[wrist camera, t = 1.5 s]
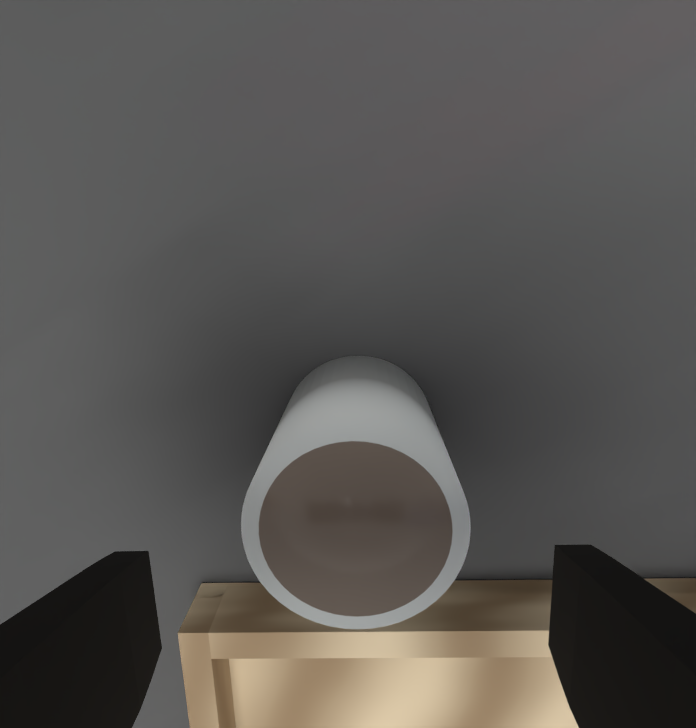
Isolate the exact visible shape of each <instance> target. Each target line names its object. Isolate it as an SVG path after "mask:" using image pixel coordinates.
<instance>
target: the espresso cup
mask: <svg viewBox="0 0 696 728" xmlns="http://www.w3.org/2000/svg"><path fill="white" fill-rule="evenodd" d="M470 532H471V526H470V514H469V509H468V504H467V500H466V498H465V495H464V492H463V489H462V487H461V484H460V482H459V479H458V477H457V474H456V472H455V469H454V467H453V464H452V462H451V459H450V457H449V454H448V452H447V449H446V447H445V444H444V442H443V439H442V437H441V434H440V432H439V429H438V427H437V424H436V422H435V419H434V417H433V414H432V412H431V409H430V407H429V404H428V402H427V399H426V397H425V395H424V393H423V392H422V390H421V388H420V387H419V386H418V384H417V383H416V382H415V381H414V380H413V378H412V377H411V376H410V375H408V374H407V373H406V372H405V371H404V370H402V369H401V368H399V367H398V366H396V365H394V364H392V363H390V362H388V361H385V360H382V359H379V358H376V357H370V356H357V355H356V356H346V357H341V358H337V359H334V360H331V361H328V362H326V363H324V364H322V365H320V366H318V367H317V368H316V369H314V370H313V371H311V372H310V373H309V374H308V375H307V376H306V377H305V378H304V379H303V380H302V381H301V382H300V384H299V385H298V386H297V388H296V389H295V391H294V393H293V394H292V397H291V399H290V401H289V403H288V405H287V407H286V409H285V411H284V414H283V416H282V418H281V420H280V422H279V424H278V426H277V428H276V431H275V433H274V435H273V437H272V439H271V441H270V443H269V446H268V448H267V450H266V452H265V454H264V456H263V458H262V460H261V463H260V465H259V467H258V469H257V471H256V473H255V475H254V478H253V480H252V482H251V484H250V486H249V489H248V491H247V493H246V497H245V500H244V504H243V509H242V517H241V534H242V540H243V546H244V549H245V553H246V556H247V559H248V561H249V563H250V565H251V568H252V570H253V572H254V573H255V575H256V576H257V578H258V579H259V581H260V582H261V584H262V585H263V586H264V587H265V588H266V590H267V591H268V592H269V593H270V594H271V595H272V596H273V597H274V598H275V599H276V600H278V601H279V602H280V603H281V604H283V605H284V606H285V607H287V608H288V609H290V610H291V611H293V612H295V613H296V614H298V615H300V616H302V617H304V618H306V619H309V620H311V621H314V622H316V623H320V624H323V625H327V626H330V627H337V628H343V629H373V628H378V627H384V626H388V625H392V624H395V623H398V622H401V621H404V620H406V619H408V618H411V617H413V616H415V615H416V614H418V613H420V612H422V611H423V610H425V609H426V608H428V607H429V606H430V605H432V604H433V603H434V602H436V601H437V600H438V599H439V598H440V597H441V596H442V595H443V594H444V593H445V592H446V591H447V589H448V588H449V587H450V586H451V584H452V583H453V582H454V580H455V579H456V577H457V575H458V573H459V572H460V570H461V568H462V565H463V563H464V561H465V558H466V555H467V551H468V547H469V542H470Z"/></svg>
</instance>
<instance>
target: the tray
mask: <svg viewBox="0 0 696 728" xmlns="http://www.w3.org/2000/svg"><path fill="white" fill-rule="evenodd" d="M645 580H646V581H648V582H649V583H651V584H652V585H654V586H655V587H657V588H658V589H660V590H661V591H663V592H664V593H666V594H667V595H669V596H670V597H672V598H673V599H675V600H676V601H678V602H679V603H681V604H682V605H684V606H685V607H687V608H688V609H690V610H691V611H693V612H694V613H696V578H652V579H645ZM552 581H553V580H460V581H454V582H453V583H452V584H451V586H450V587H449V588H448V589H447V591H446V592H445V593H444V594H443V595H442V596H441V597H440V598H439V599H438V600H437V601H436V602H434V603H433V604H432V605H430V606H429V607H428V608H426V609H425V610H423V611H422V612H420V613H418V614H416V615H415V616H413V617H411V618H408V619H406V620H404V621H401V622H398V623H395V624H392V625H388V626H384V627H378V628H373V629H343V628H337V627H330V626H327V625H323V624H320V623H316V622H314V621H311V620H309V619H306V618H304V617H302V616H300V615H298V614H296V613H295V612H293V611H291V610H290V609H288V608H287V607H285V606H284V605H283V604H281V603H280V602H279V601H278V600H276V599H275V598H274V597H273V596H272V595H271V594H270V593H269V592H268V591H267V590H266V588H265V587H264V586H263V585H262V584H261V583H201V585H200V587H199V590H198V592H197V594H196V596H195V598H194V600H193V602H192V604H191V606H190V609H189V611H188V613H187V615H186V617H185V619H184V621H183V623H182V625H181V627H180V630H179V632H178V638H179V646H180V654H181V662H182V669H183V677H184V685H185V693H186V700H187V708H188V716H189V724H190V728H579V727H578V725H577V723H576V720H575V718H574V716H573V714H572V712H571V709H570V707H569V704H568V702H567V699H566V696H565V693H564V690H563V688H562V685H561V682H560V679H559V676H558V673H557V670H556V667H555V664H554V661H553V658H552V655H551V652H550V649H549V646H548V640H549V625H550V610H551V595H552Z"/></svg>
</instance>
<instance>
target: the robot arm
mask: <svg viewBox="0 0 696 728" xmlns="http://www.w3.org/2000/svg"><path fill="white" fill-rule="evenodd" d="M548 646H549V649H550V652H551V655H552V658H553V661H554V664H555V667H556V670H557V673H558V676H559V679H560V682H561V685H562V688H563V690H564V693H565V696H566V699H567V702H568V704H569V707H570V709H571V712H572V714H573V716H574V718H575V720H576V723H577V725H578V727H579V728H696V613H694V612H693V611H691V610H690V609H688V608H687V607H685V606H684V605H682V604H681V603H679V602H678V601H676V600H675V599H673V598H672V597H670V596H669V595H667V594H666V593H664V592H663V591H661V590H660V589H658V588H657V587H655V586H654V585H652V584H651V583H649V582H648V581H646V580H645V579H643V578H642V577H640V576H639V575H637V574H636V573H634V572H633V571H631V570H630V569H628V568H627V567H625V566H624V565H622V564H621V563H619V562H618V561H616V560H615V559H613V558H612V557H610V556H608V555H607V554H605V553H604V552H602V551H600V550H599V549H597V548H595V547H594V546H592V545H555V551H554V566H553V581H552V595H551V610H550V625H549V640H548ZM161 649H162V646H161V639H160V631H159V624H158V617H157V610H156V603H155V595H154V588H153V581H152V574H151V567H150V559H149V552H148V551H122V552H113V553H112V554H110V555H108V556H106V557H104V558H103V559H101V560H99V561H98V562H96V563H94V564H93V565H91V566H90V567H88V568H86V569H85V570H83V571H82V572H80V573H79V574H77V575H76V576H74V577H72V578H71V579H69V580H68V581H66V582H65V583H63V584H62V585H60V586H59V587H57V588H56V589H54V590H53V591H51V592H50V593H48V594H47V595H45V596H43V597H42V598H40V599H39V600H37V601H36V602H34V603H33V604H31V605H30V606H28V607H27V608H25V609H24V610H22V611H21V612H19V613H17V614H16V615H14V616H13V617H11V618H10V619H8V620H7V621H5V622H4V623H2V624H1V625H0V728H132V726H133V724H134V722H135V720H136V718H137V715H138V713H139V711H140V709H141V706H142V704H143V701H144V698H145V695H146V693H147V690H148V687H149V684H150V682H151V679H152V676H153V673H154V670H155V667H156V664H157V661H158V658H159V655H160V652H161Z"/></svg>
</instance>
